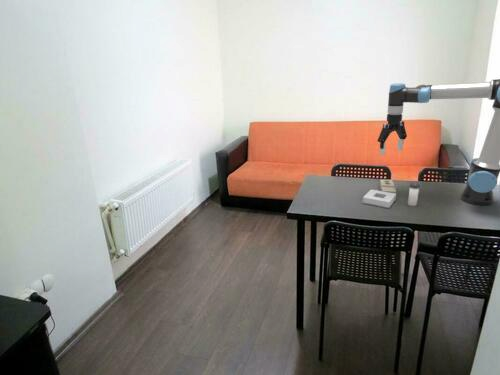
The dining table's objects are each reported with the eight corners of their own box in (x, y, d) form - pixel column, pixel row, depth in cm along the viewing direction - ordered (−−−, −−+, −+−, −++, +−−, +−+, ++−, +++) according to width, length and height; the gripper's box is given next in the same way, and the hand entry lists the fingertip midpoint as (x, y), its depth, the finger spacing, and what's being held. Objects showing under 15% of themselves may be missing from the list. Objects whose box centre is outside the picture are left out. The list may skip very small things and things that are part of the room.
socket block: (395, 199, 195) (396, 193, 193) (388, 208, 184) (389, 202, 183) (370, 195, 202) (370, 189, 201) (362, 203, 192) (363, 197, 190)
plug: (417, 203, 189) (420, 182, 185) (416, 206, 185) (419, 185, 181) (408, 201, 191) (411, 181, 187) (406, 204, 188) (409, 183, 184)
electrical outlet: (383, 189, 200) (380, 179, 216) (382, 196, 202) (379, 185, 218) (396, 190, 198) (392, 179, 215) (395, 196, 200) (391, 185, 216)
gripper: (404, 110, 195) (400, 147, 202) (372, 115, 184) (369, 154, 191) (416, 111, 188) (412, 150, 196) (383, 117, 177) (380, 157, 185)
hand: (391, 152), depth 193 cm, fingers open, 13 cm apart
